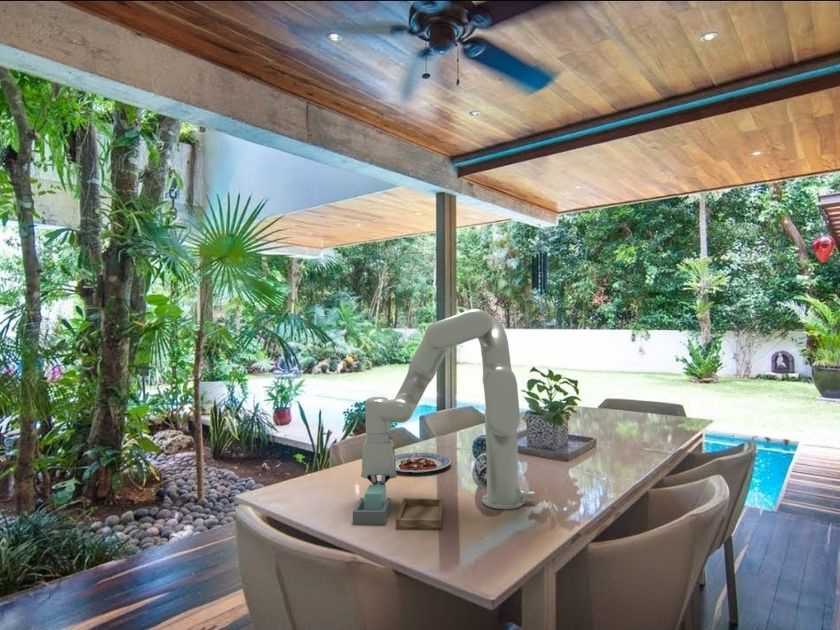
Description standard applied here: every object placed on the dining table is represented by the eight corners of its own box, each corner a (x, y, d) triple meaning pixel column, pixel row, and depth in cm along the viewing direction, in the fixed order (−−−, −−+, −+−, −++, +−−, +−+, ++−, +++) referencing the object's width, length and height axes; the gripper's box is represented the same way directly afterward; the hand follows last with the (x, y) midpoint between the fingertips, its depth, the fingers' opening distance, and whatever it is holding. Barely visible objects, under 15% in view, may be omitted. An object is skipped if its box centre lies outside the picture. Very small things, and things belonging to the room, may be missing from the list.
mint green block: (388, 500, 160) (387, 480, 161) (382, 514, 148) (381, 493, 149) (372, 499, 161) (371, 480, 161) (365, 514, 149) (364, 493, 149)
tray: (443, 506, 153) (443, 498, 153) (440, 529, 137) (440, 520, 137) (403, 506, 155) (403, 498, 155) (396, 528, 138) (395, 519, 138)
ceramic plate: (462, 471, 189) (462, 463, 189) (396, 481, 180) (396, 472, 180) (434, 455, 213) (434, 447, 213) (375, 462, 204) (375, 455, 204)
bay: (390, 509, 152) (390, 498, 152) (384, 524, 141) (384, 511, 141) (361, 509, 153) (360, 497, 153) (352, 524, 142) (352, 511, 142)
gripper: (403, 434, 162) (404, 492, 162) (356, 434, 164) (357, 492, 163) (400, 440, 155) (402, 501, 155) (351, 440, 156) (352, 500, 156)
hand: (379, 496), depth 159 cm, fingers closed on mint green block, 1 cm apart
